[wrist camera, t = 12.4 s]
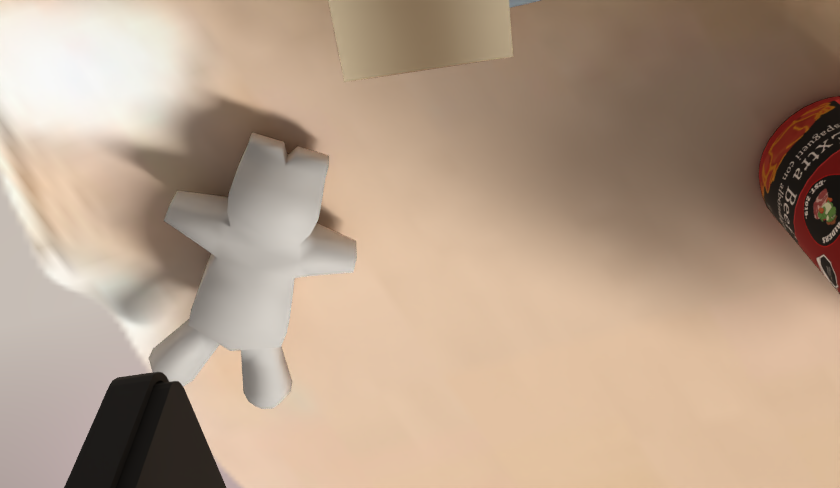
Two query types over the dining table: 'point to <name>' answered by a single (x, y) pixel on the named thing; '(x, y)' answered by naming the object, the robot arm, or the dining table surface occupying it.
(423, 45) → the maple block
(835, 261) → the canned food
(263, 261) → the white figure shaped piece
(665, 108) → the dining table surface
